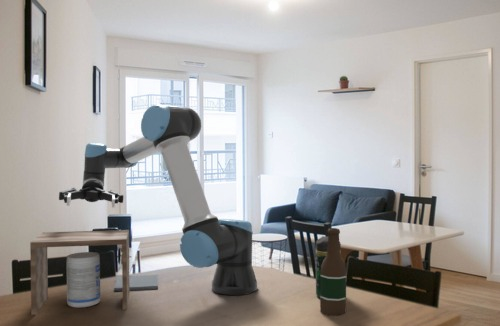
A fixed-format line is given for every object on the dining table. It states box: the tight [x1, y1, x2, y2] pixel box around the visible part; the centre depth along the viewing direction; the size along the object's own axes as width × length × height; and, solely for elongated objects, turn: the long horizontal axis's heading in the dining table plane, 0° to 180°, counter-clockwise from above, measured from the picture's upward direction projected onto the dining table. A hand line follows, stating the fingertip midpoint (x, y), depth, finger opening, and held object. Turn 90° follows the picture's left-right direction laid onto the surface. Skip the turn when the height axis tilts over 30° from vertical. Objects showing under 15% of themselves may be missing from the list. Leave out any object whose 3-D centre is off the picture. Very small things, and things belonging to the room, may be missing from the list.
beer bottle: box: [319, 227, 347, 317], centre depth 140 cm, size 8×8×24 cm
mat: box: [113, 274, 159, 292], centre depth 168 cm, size 14×14×1 cm
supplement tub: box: [66, 251, 101, 309], centre depth 147 cm, size 10×10×15 cm
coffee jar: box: [315, 236, 342, 298], centre depth 155 cm, size 10×8×19 cm
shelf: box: [29, 229, 130, 316], centre depth 147 cm, size 16×26×20 cm, turn 101°
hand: (91, 202), depth 154 cm, fingers open, 13 cm apart
